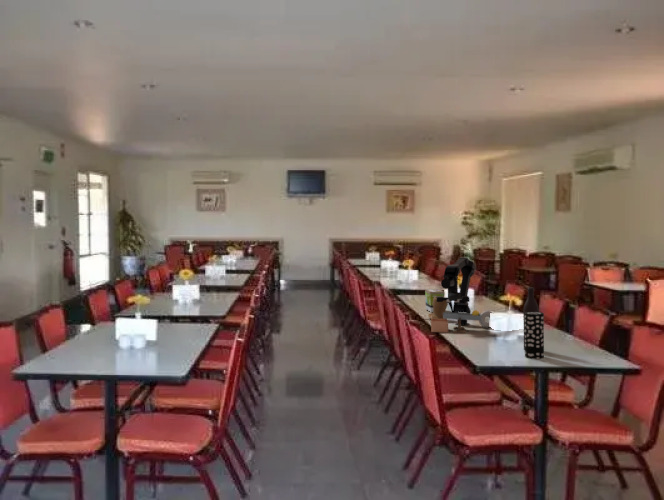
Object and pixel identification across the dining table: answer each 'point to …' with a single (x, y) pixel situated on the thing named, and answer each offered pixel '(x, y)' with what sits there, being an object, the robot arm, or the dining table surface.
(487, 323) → the donut
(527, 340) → the white-spotted black cylinder
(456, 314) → the grey flat piece
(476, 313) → the ball
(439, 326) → the brown boxy piece
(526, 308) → the wine bottle
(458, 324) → the lever stand
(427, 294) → the tea box
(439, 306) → the stone cup
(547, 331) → the dining table surface
